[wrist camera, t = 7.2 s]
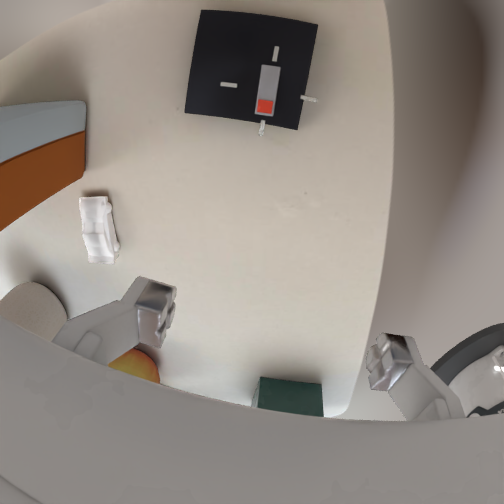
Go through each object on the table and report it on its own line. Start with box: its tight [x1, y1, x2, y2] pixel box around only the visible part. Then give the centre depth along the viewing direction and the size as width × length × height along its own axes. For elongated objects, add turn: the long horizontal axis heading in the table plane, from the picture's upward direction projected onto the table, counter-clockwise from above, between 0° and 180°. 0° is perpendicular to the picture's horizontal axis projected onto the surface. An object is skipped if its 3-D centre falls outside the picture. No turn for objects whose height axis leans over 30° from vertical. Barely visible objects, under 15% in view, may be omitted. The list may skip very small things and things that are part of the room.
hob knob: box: [255, 65, 281, 116], centre depth 21 cm, size 4×1×3 cm, turn 172°
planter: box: [0, 282, 67, 342], centre depth 37 cm, size 12×12×11 cm
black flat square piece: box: [185, 10, 318, 136], centre depth 23 cm, size 11×11×2 cm
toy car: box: [79, 196, 120, 264], centre depth 32 cm, size 5×8×2 cm, turn 0°
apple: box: [108, 348, 160, 384], centre depth 42 cm, size 10×10×8 cm
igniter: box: [251, 377, 324, 417], centre depth 40 cm, size 10×8×14 cm
